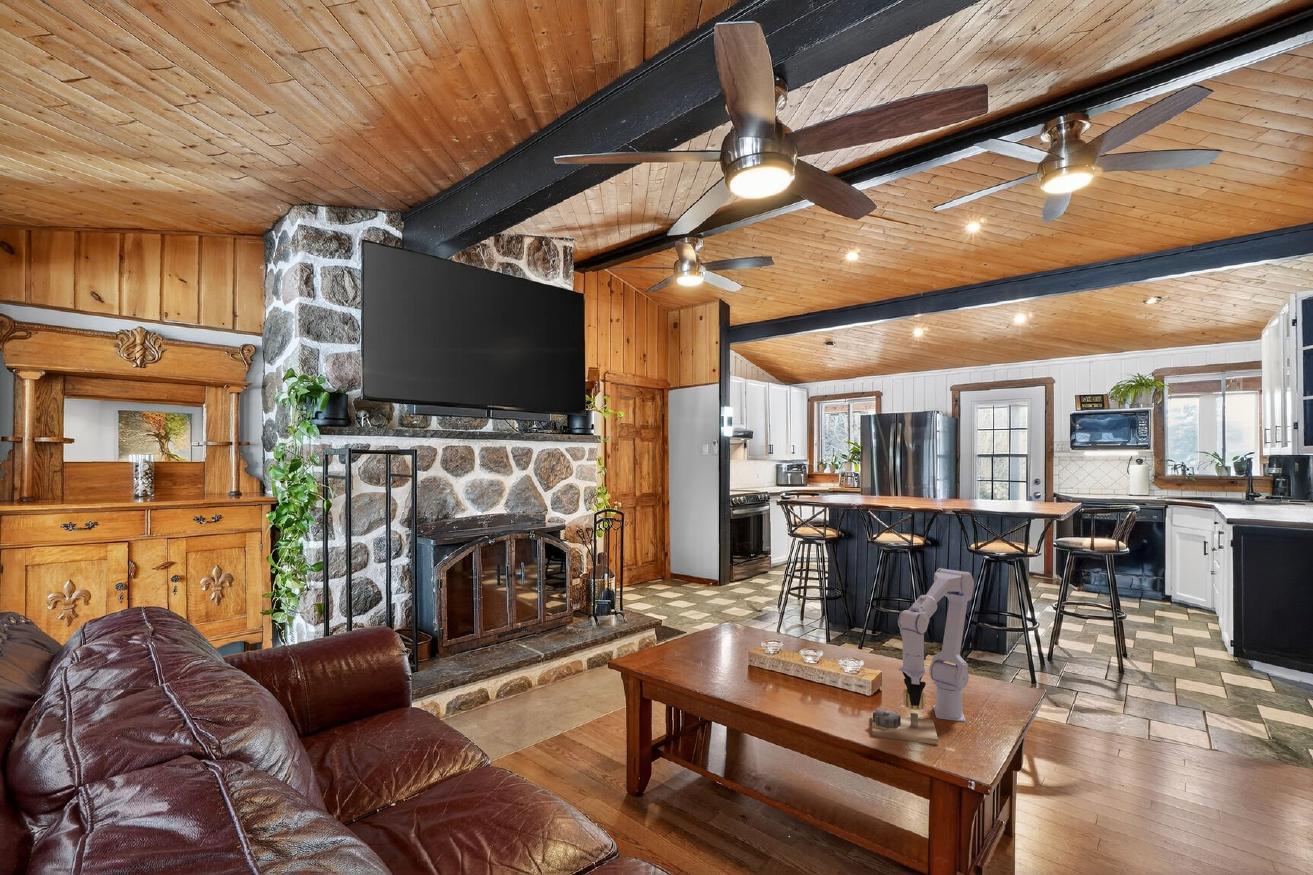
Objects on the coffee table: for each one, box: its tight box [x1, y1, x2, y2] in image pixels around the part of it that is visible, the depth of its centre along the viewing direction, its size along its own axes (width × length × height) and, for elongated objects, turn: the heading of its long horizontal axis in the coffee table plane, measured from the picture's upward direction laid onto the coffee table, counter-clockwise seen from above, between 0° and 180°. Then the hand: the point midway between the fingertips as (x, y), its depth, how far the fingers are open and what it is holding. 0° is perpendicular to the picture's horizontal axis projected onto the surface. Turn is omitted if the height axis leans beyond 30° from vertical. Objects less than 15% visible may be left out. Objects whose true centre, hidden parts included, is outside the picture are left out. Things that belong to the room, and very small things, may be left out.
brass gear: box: [902, 688, 926, 711], centre depth 175 cm, size 6×6×4 cm
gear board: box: [871, 708, 939, 746], centre depth 175 cm, size 13×17×5 cm
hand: (914, 701), depth 175 cm, fingers closed on brass gear, 6 cm apart
